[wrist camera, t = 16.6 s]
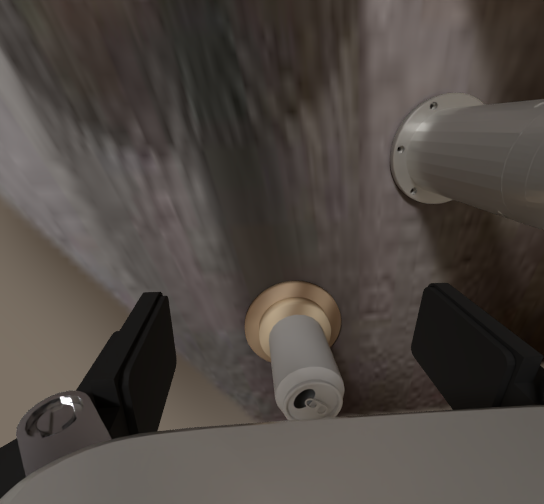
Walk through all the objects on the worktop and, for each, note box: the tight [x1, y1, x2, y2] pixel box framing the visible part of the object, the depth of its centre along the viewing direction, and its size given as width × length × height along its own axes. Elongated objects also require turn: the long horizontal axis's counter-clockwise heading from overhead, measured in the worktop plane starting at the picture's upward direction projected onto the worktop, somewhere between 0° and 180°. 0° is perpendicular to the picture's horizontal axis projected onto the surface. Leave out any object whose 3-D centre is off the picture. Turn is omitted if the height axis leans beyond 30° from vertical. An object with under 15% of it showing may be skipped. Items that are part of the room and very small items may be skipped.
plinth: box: [245, 281, 341, 362], centre depth 44 cm, size 14×14×3 cm
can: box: [269, 315, 345, 421], centre depth 36 cm, size 8×8×12 cm
